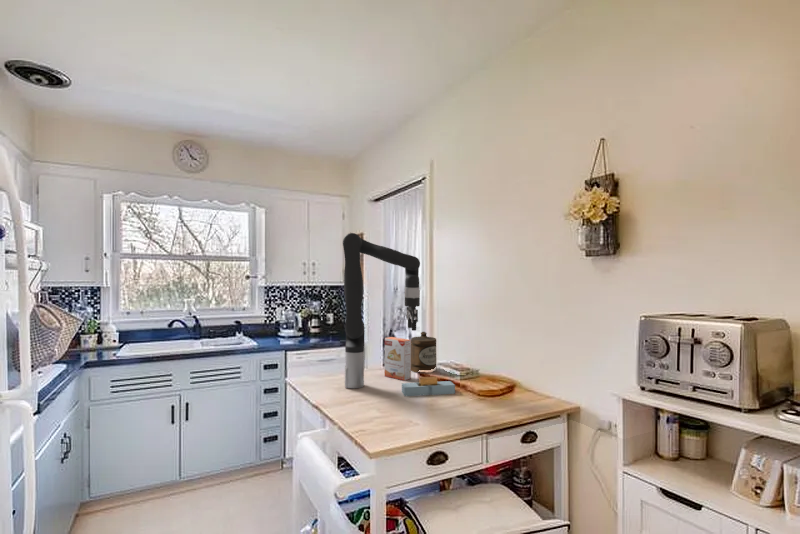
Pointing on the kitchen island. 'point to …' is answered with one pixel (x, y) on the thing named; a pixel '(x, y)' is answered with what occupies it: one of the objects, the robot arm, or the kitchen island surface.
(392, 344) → the cracker box
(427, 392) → the light blue long block
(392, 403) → the kitchen island surface
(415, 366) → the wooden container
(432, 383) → the clip
